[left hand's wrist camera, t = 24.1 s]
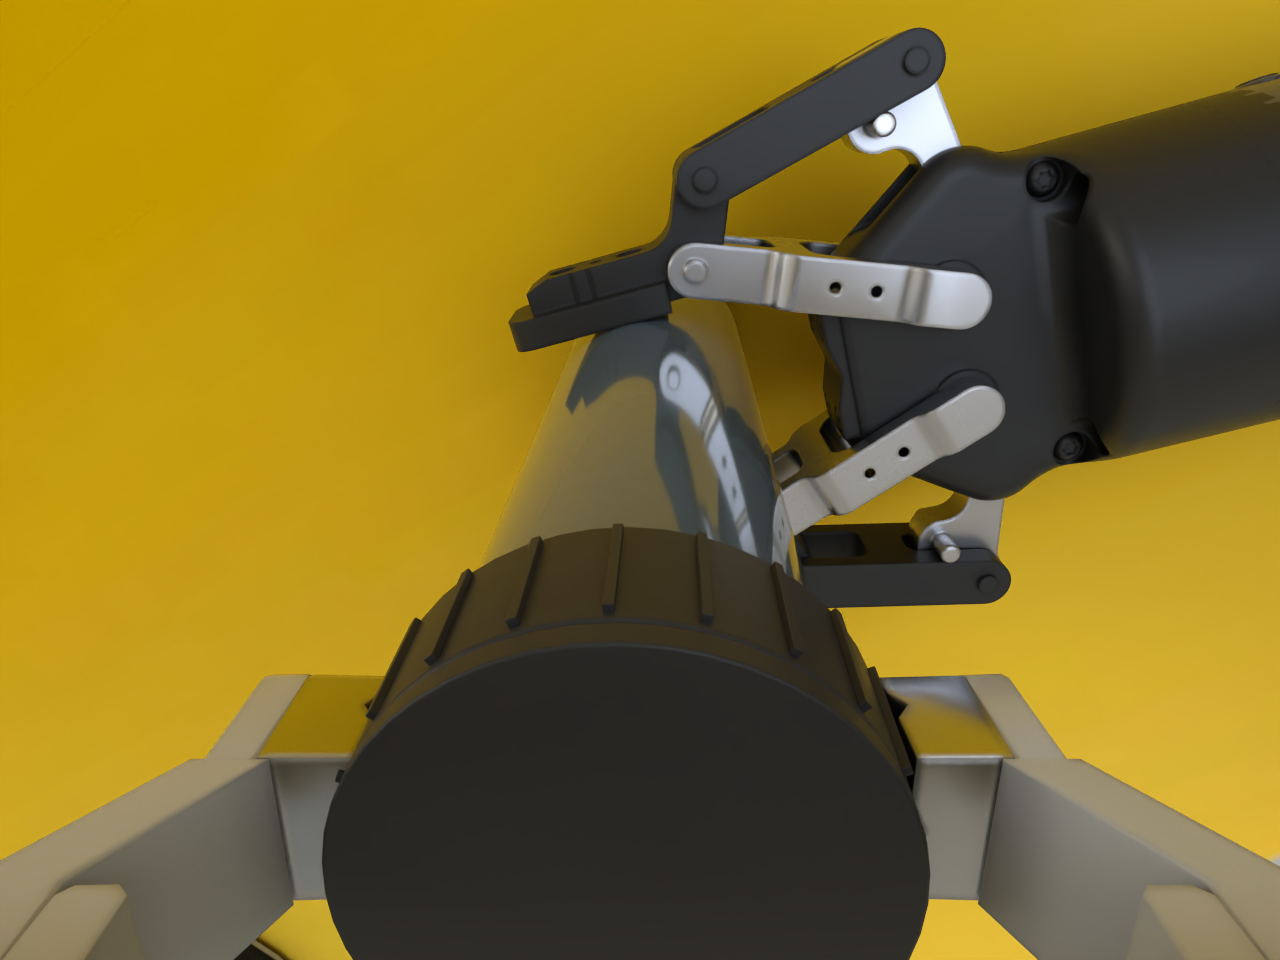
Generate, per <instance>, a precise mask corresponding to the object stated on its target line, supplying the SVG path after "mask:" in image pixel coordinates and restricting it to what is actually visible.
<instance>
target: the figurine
mask: <svg viewBox="0 0 1280 960" xmlns="http://www.w3.org/2000/svg"><path fill="white" fill-rule="evenodd" d="M234 960H283V959H282V958H281V957H280V956H279V955H277V954H276V953H274V952H273V951H271V950H270V949H268V948H267V947H265V946H264V945H262V944H261V943H259V942H258V941H256V940H254V941H253V942H252V943H251V944H250V945H249V946H248V947H247V948H246V949H245V950H244V951H243V952H241V953H240V954H239V955H238V956H237V957H236V958H235V959H234Z"/></svg>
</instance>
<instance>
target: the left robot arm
mask: <svg viewBox="0 0 1280 960" xmlns="http://www.w3.org/2000/svg"><path fill="white" fill-rule="evenodd" d="M384 677H385V676H352V675H313V676H312V675H310V674H290V675H270V676H267V677H264V678H263V679H262V680H261V682H260V683H259V684H258V686H257V687H256V688H255V690H254V691H253V693H252V694H251V695H250V697H249V698H248V699H247V701H246V702H245V704H244V705H243V706H242V708H241V709H240V710H239V712H238V713H237V715H236V716H235V717H234V719H233V720H232V722H231V723H230V724H229V726H228V727H227V728H226V730H225V731H224V733H223V734H222V735H221V737H220V738H219V739H218V741H217V742H216V744H215V745H214V746H213V748H212V749H211V751H210V752H209V753H208V755H207V756H206V757H205V759H190V760H188V761H186V762H184V763H183V764H181V765H179V766H177V767H175V768H173V769H171V770H169V771H168V772H166V773H164V774H162V775H160V776H158V777H156V778H154V779H153V780H151V781H149V782H147V783H145V784H143V785H141V786H139V787H138V788H136V789H134V790H132V791H130V792H128V793H126V794H124V795H123V796H121V797H119V798H117V799H115V800H113V801H111V802H109V803H108V804H106V805H104V806H102V807H100V808H98V809H96V810H94V811H93V812H91V813H89V814H87V815H85V816H83V817H81V818H79V819H78V820H76V821H74V822H72V823H70V824H68V825H66V826H64V827H63V828H61V829H59V830H57V831H55V832H53V833H51V834H50V835H48V836H46V837H44V838H42V839H40V840H38V841H36V842H35V843H33V844H31V845H29V846H27V847H25V848H23V849H21V850H20V851H18V852H16V853H14V854H12V855H10V856H8V857H6V858H5V859H3V860H1V861H0V960H234V959H235V958H236V957H237V956H238V955H239V954H240V953H241V952H243V951H244V950H245V949H246V948H247V947H248V946H249V945H250V944H251V943H252V942H253V941H254V940H256V939H257V938H258V937H259V936H260V935H261V934H262V933H263V932H264V931H265V930H266V929H268V928H269V927H270V926H271V925H272V924H273V923H274V922H275V921H276V920H277V919H278V918H280V917H281V916H282V915H283V914H284V913H285V912H286V911H287V910H288V909H289V908H290V907H291V906H293V900H320V899H327V898H326V895H325V888H324V879H323V870H322V848H323V832H324V828H325V824H326V820H327V816H328V812H329V808H330V804H331V801H332V798H333V796H334V794H335V792H336V789H337V787H338V785H339V783H337V782H335V779H336V775H337V772H343V773H344V772H345V770H346V768H347V765H348V763H349V761H350V759H351V757H352V755H353V753H354V752H355V749H356V747H357V745H358V743H359V741H360V739H361V737H362V735H363V733H364V730H365V728H366V726H367V724H368V722H369V720H370V719H369V718H367V717H366V716H365V715H366V713H367V711H368V709H369V707H370V705H371V703H372V701H373V699H374V697H375V695H376V693H377V691H378V689H379V687H380V685H381V683H382V681H383V679H384ZM879 679H880V681H881V684H882V687H883V690H884V692H885V695H886V698H887V701H888V703H889V706H890V709H891V712H892V714H893V717H894V720H895V723H896V725H897V728H898V731H899V734H900V736H901V739H902V742H903V745H904V747H905V750H906V753H907V756H908V758H909V761H910V764H911V767H912V769H913V772H914V774H912V775H909V776H906V778H907V781H908V784H909V788H910V790H911V792H912V795H913V798H914V801H915V804H916V807H917V809H918V812H919V816H920V819H921V822H922V825H923V828H924V831H925V834H926V840H927V845H928V854H929V863H930V887H929V899H951V900H979V901H978V904H979V905H980V906H981V907H982V908H983V909H984V910H985V911H986V912H987V913H988V914H989V915H991V916H992V917H993V918H994V919H995V920H996V921H997V922H998V923H999V924H1000V925H1001V926H1002V927H1003V928H1005V929H1006V930H1007V931H1008V932H1009V933H1010V934H1011V935H1012V936H1013V937H1014V938H1015V939H1016V940H1017V941H1019V942H1020V943H1021V944H1022V945H1023V946H1024V947H1025V948H1026V949H1027V950H1028V951H1029V952H1030V953H1031V954H1033V955H1034V956H1035V957H1036V958H1037V959H1038V960H1280V867H1279V866H1277V865H1276V864H1274V863H1272V862H1270V861H1268V860H1266V859H1265V858H1263V857H1261V856H1259V855H1257V854H1255V853H1253V852H1252V851H1250V850H1248V849H1246V848H1244V847H1242V846H1240V845H1239V844H1237V843H1235V842H1233V841H1231V840H1229V839H1228V838H1226V837H1224V836H1222V835H1220V834H1218V833H1216V832H1215V831H1213V830H1211V829H1209V828H1207V827H1205V826H1203V825H1202V824H1200V823H1198V822H1196V821H1194V820H1192V819H1190V818H1189V817H1187V816H1185V815H1183V814H1181V813H1179V812H1178V811H1176V810H1174V809H1172V808H1170V807H1168V806H1166V805H1165V804H1163V803H1161V802H1159V801H1157V800H1155V799H1153V798H1152V797H1150V796H1148V795H1146V794H1144V793H1142V792H1140V791H1139V790H1137V789H1135V788H1133V787H1131V786H1129V785H1128V784H1126V783H1124V782H1122V781H1120V780H1118V779H1116V778H1115V777H1113V776H1111V775H1109V774H1107V773H1105V772H1103V771H1102V770H1100V769H1098V768H1096V767H1094V766H1092V765H1090V764H1089V763H1087V762H1085V761H1083V760H1081V759H1067V758H1066V757H1065V756H1064V754H1063V753H1062V751H1061V750H1060V749H1059V747H1058V746H1057V744H1056V743H1055V742H1054V740H1053V739H1052V737H1051V736H1050V735H1049V733H1048V732H1047V730H1046V729H1045V728H1044V726H1043V725H1042V723H1041V722H1040V721H1039V719H1038V718H1037V717H1036V715H1035V714H1034V712H1033V711H1032V710H1031V708H1030V707H1029V705H1028V704H1027V703H1026V701H1025V700H1024V698H1023V697H1022V696H1021V694H1020V693H1019V691H1018V690H1017V689H1016V687H1015V686H1014V684H1013V683H1012V682H1011V680H1010V679H1009V678H1008V677H1006V676H1004V675H1002V674H983V675H959V676H929V677H888V678H879Z"/></svg>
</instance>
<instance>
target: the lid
mask: <svg viewBox="0 0 1280 960" xmlns="http://www.w3.org/2000/svg"><path fill="white" fill-rule="evenodd" d="M365 716H366V717H367V718H369V719H370V720H369V722H368V724H367V726H366V728H365V730H364V733H363V735H362V737H361V739H360V741H359V743H358V745H357V747H356V749H355V752H354V753H353V755H352V757H351V759H350V761H349V763H348V765H347V768H346V770H345V772H344V773H343V772H337V775H336V779H335V782H337V783H339V785H338V787H337V789H336V792H335V794H334V796H333V798H332V801H331V804H330V808H329V812H328V816H327V820H326V824H325V828H324V832H323V848H322V870H323V879H324V888H325V895H326V898H327V902H328V905H329V909H330V912H331V916H332V919H333V922H334V924H335V926H336V929H337V931H338V933H339V935H340V937H341V939H342V941H343V944H344V946H345V948H346V950H347V951H348V953H349V954H350V956H351V957H352V959H353V960H909V959H910V957H911V954H912V952H913V950H914V948H915V945H916V943H917V941H918V939H919V936H920V934H921V930H922V926H923V922H924V918H925V914H926V911H927V907H928V900H929V887H930V863H929V854H928V845H927V840H926V834H925V831H924V828H923V825H922V822H921V819H920V816H919V812H918V809H917V807H916V804H915V801H914V798H913V795H912V792H911V790H910V788H909V784H908V781H907V778H906V776H909V775H912V774H914V772H913V769H912V767H911V764H910V761H909V758H908V756H907V753H906V750H905V747H904V745H903V742H902V739H901V736H900V734H899V731H898V728H897V725H896V723H895V720H894V717H893V714H892V712H891V709H890V706H889V703H888V701H887V698H886V695H885V692H884V690H883V687H882V684H881V681H880V679H879V676H878V673H877V671H876V668H875V667H874V666H873V667H870V668H867V666H866V664H865V662H864V660H863V658H862V656H861V653H860V651H859V649H858V647H857V646H856V644H855V643H854V641H853V640H852V638H851V637H850V635H849V634H848V632H847V629H846V626H845V623H844V620H843V617H842V614H841V613H840V612H839V611H838V610H837V609H836V608H835V609H833V610H832V611H830V610H829V609H828V608H827V607H826V606H825V605H824V604H823V603H822V602H821V600H820V599H819V598H817V597H816V596H815V595H814V594H812V593H811V592H810V591H809V590H807V589H806V588H805V587H804V586H803V585H801V584H800V583H799V582H798V581H796V580H795V579H794V578H792V577H791V576H789V575H787V574H786V573H785V572H784V568H783V565H781V564H779V563H778V562H776V561H774V563H773V564H772V565H771V564H770V563H768V562H766V561H765V560H762V559H760V558H758V557H756V556H754V555H751V554H749V553H747V552H745V551H743V550H740V549H738V548H736V547H734V546H731V545H728V544H725V543H721V542H718V541H715V540H712V539H709V538H708V536H707V534H706V533H702V532H697V535H693V534H688V533H683V532H677V531H672V530H666V529H654V528H639V527H623V523H616V524H613V527H612V528H598V529H589V530H584V531H578V532H572V533H566V534H560V535H557V536H554V537H550V538H547V539H544V540H542V538H541V536H537V537H534V538H531V541H530V544H527V545H524V546H522V547H520V548H518V549H516V550H513V551H511V552H509V553H507V554H504V555H502V556H500V557H498V558H495V559H494V560H492V561H490V562H489V563H487V564H485V565H484V566H482V567H481V568H479V569H477V570H476V571H474V572H471V571H470V569H467V570H466V571H464V572H463V573H462V574H461V576H460V578H459V580H458V583H457V585H455V586H454V587H453V588H452V589H451V590H449V591H448V592H447V593H446V594H445V595H443V596H442V598H441V599H440V600H439V601H438V602H437V603H436V604H435V605H434V606H433V608H432V609H431V610H430V611H429V612H428V613H427V614H426V615H425V616H424V617H423V619H422V621H421V620H419V619H418V618H415V619H414V620H413V621H412V623H411V624H410V626H409V628H408V630H407V632H406V634H405V637H404V639H403V641H402V643H401V645H400V647H399V649H398V651H397V653H396V655H395V657H394V659H393V661H392V663H391V665H390V667H389V669H388V671H387V673H386V675H385V677H384V679H383V681H382V683H381V685H380V687H379V689H378V691H377V693H376V695H375V697H374V699H373V701H372V703H371V705H370V707H369V709H368V711H367V713H366V715H365Z"/></svg>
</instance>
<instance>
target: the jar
mask: <svg viewBox="0 0 1280 960" xmlns="http://www.w3.org/2000/svg"><path fill="white" fill-rule="evenodd" d="M671 306H672V311H673V313H671V314H667V315H663V316H659V317H656V318H652V319H648V320H644V321H641V322H637V323H633V324H629V325H626V326H622V327H618V328H615V329H611V330H607V331H603V332H600V333H596V334H592V335H588V336H585V337H581V338H577V339H575V341H574V344H573V346H572V348H571V351H570V353H569V356H568V358H567V360H566V363H565V365H564V368H563V370H562V372H561V375H560V377H559V379H558V382H557V384H556V387H555V389H554V391H553V394H552V396H551V398H550V401H549V403H548V406H547V408H546V410H545V413H544V415H543V418H542V420H541V422H540V425H539V427H538V429H537V432H536V434H535V437H534V439H533V441H532V444H531V446H530V448H529V451H528V453H527V456H526V458H525V460H524V463H523V465H522V467H521V470H520V472H519V475H518V477H517V479H516V482H515V484H514V487H513V489H512V491H511V494H510V496H509V498H508V501H507V503H506V506H505V508H504V510H503V513H502V515H501V517H500V520H499V522H498V525H497V527H496V529H495V532H494V534H493V537H492V539H491V541H490V544H489V546H488V548H487V551H486V553H485V556H484V558H483V560H482V563H481V565H480V567H479V568H481V567H482V566H484V565H485V564H487V563H489V562H490V561H492V560H494V559H495V558H498V557H500V556H502V555H504V554H507V553H509V552H511V551H513V550H516V549H518V548H520V547H522V546H524V545H527V544H530V541H531V538H534V537H537V536H541V538H542V540H544V539H547V538H550V537H554V536H557V535H560V534H566V533H572V532H578V531H584V530H589V529H598V528H612V527H613V524H616V523H623V527H639V528H654V529H666V530H672V531H677V532H683V533H688V534H693V535H697V532H702V533H706V534H707V536H708V538H709V539H712V540H715V541H718V542H721V543H725V544H728V545H731V546H734V547H736V548H738V549H740V550H743V551H745V552H747V553H749V554H751V555H754V556H756V557H758V558H760V559H762V560H765V561H766V562H768V563H770V564H771V565H772V564H773V563H774V561H776V562H778V563H779V564H781V565H783V568H784V572H785V573H786V574H787V575H789V576H791V577H792V578H794V579H795V580H796V581H798V582H799V583H800V584H801V585H803V586H804V587H805V588H806V589H807V590H809V588H808V585H807V581H806V577H805V574H804V570H803V566H802V563H801V559H800V555H799V552H798V548H797V544H796V541H795V537H794V534H793V530H792V526H791V523H790V519H789V515H788V512H787V508H786V504H785V501H784V497H783V493H782V490H781V486H780V482H779V479H778V475H777V472H776V468H775V464H774V461H773V457H772V453H771V450H770V446H769V442H768V439H767V435H766V431H765V428H764V424H763V421H762V417H761V413H760V410H759V406H758V402H757V399H756V395H755V391H754V388H753V384H752V380H751V377H750V373H749V370H748V366H747V362H746V359H745V355H744V351H743V348H742V344H741V340H740V337H739V333H738V329H737V326H736V322H735V319H734V317H733V315H732V312H731V310H730V309H729V307H728V305H727V303H726V302H724V301H713V300H702V299H692V298H687V297H686V298H682V299H679V300H675V301H671Z"/></svg>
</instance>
